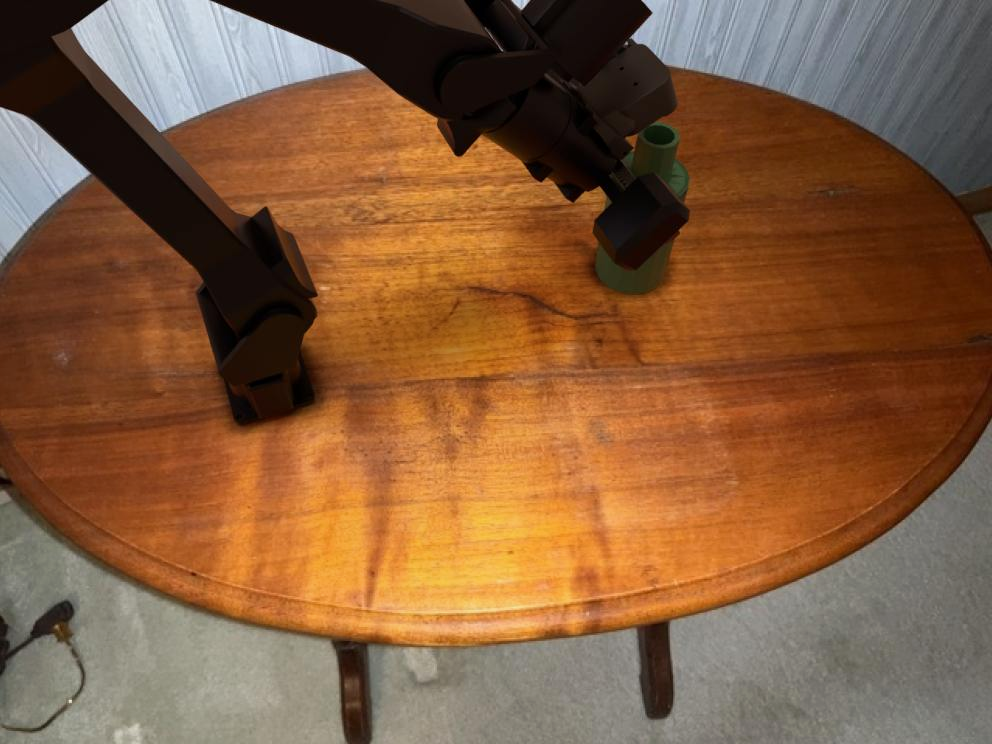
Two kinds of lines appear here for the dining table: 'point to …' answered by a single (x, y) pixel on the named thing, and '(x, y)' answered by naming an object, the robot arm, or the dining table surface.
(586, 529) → the dining table surface
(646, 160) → the bottle
